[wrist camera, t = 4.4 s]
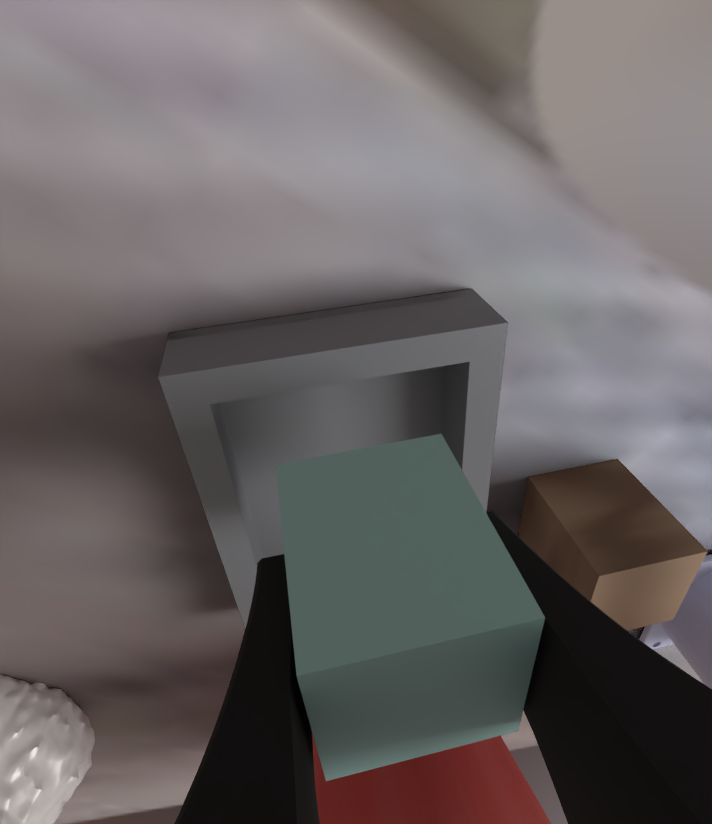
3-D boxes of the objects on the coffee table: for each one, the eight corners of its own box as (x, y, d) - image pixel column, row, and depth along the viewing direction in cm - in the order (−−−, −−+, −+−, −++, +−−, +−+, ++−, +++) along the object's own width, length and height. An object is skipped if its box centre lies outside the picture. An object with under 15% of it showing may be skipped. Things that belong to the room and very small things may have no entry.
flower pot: (312, 596, 22) (354, 887, 14) (510, 613, 26) (628, 846, 18) (247, 721, 27) (253, 988, 19) (422, 719, 31) (486, 939, 23)
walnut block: (617, 458, 21) (707, 551, 17) (597, 524, 23) (673, 619, 19) (527, 476, 21) (599, 575, 17) (516, 541, 23) (577, 642, 19)
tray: (471, 288, 15) (507, 322, 13) (453, 563, 23) (475, 611, 21) (168, 333, 14) (157, 377, 12) (254, 605, 22) (256, 660, 20)
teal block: (438, 544, 14) (518, 730, 10) (299, 573, 14) (325, 781, 10) (441, 433, 12) (545, 617, 8) (275, 464, 12) (296, 675, 8)
